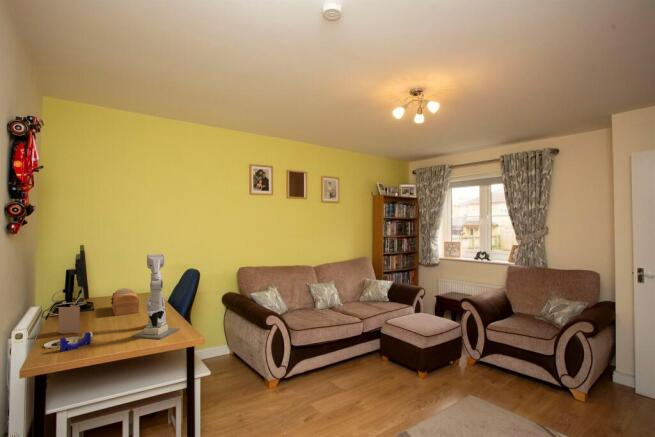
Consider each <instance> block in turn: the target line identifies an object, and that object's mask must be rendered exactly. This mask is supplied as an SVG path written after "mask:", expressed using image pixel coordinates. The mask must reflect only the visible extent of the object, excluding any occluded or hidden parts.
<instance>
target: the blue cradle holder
mask: <svg viewBox="0 0 655 437" xmlns="http://www.w3.org/2000/svg"><path fill="white" fill-rule="evenodd" d="M90 332H91V331H88V332H87V331H86V332H84V333H85V336H84V338H83V339H82V340H81V341H80V342H78V343H76V344H68V343H67V342H66V339H65V338H66V337H59V339H60V347H59V351H61V352H62V353H64V352H69V351H73V350H77V349H78V348H81V347H86V346H90V345H91V343H92V342H91V333H90Z"/></svg>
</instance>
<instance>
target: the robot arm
mask: <svg viewBox="0 0 655 437" xmlns="http://www.w3.org/2000/svg"><path fill="white" fill-rule="evenodd" d="M164 266H165V254H164V253H152V254H149V253H148V254H146V267H147V269H149V270H150V272H151V273H150V282H149V291H150V296H148V297H147V299H146V312H147V316H148V322H149V321H151V323H152V326H157V321H158V318H159V319H161V321H165V322H164V323H162V325H167V324H168V322H167V320H166V319H167V317H166V315H167V312H166V311H165V308H166V306H165V297H164V296H163V289H164V282H163V276H162V274H163V273H162V271H161V269H162V268H164ZM148 326H150V324H148V325H145V327H144V328H146V327H148Z"/></svg>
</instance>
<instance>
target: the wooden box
mask: <svg viewBox="0 0 655 437" xmlns="http://www.w3.org/2000/svg"><path fill="white" fill-rule="evenodd" d="M110 300H111V302H110V304H111V309H112V313H113V315H114V317H118V316H124V315H131V314H132V315H134V314H138V313H140V299H139V297H138V295H137V294H136V292H135V291H134V290H133V289H132V288H130V287H129V288H128V287H126V288H125V287H124V288H123V287H122V288H120V289H118V290H115V291H114V292H112V297H111V299H110Z"/></svg>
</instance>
